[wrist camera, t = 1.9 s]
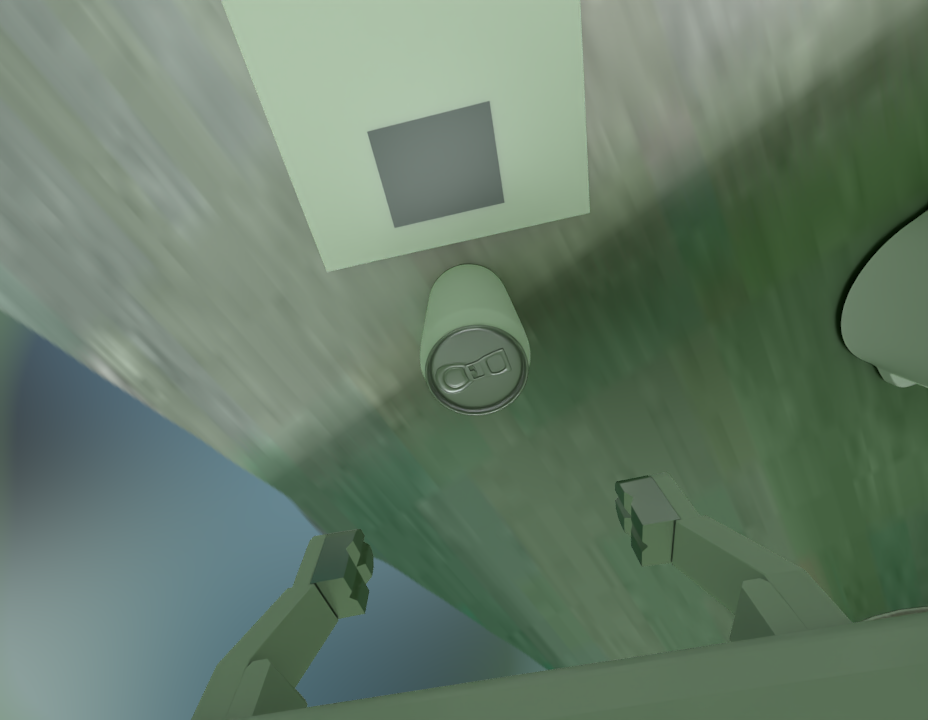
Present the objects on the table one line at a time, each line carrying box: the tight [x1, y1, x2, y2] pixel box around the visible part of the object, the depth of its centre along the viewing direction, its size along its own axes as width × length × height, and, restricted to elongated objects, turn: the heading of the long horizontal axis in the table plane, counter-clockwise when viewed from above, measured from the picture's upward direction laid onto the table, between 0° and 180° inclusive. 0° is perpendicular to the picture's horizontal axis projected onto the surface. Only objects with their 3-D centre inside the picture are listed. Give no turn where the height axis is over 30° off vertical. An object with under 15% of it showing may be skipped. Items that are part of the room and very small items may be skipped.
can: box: [420, 264, 530, 416], centre depth 25 cm, size 6×6×12 cm
